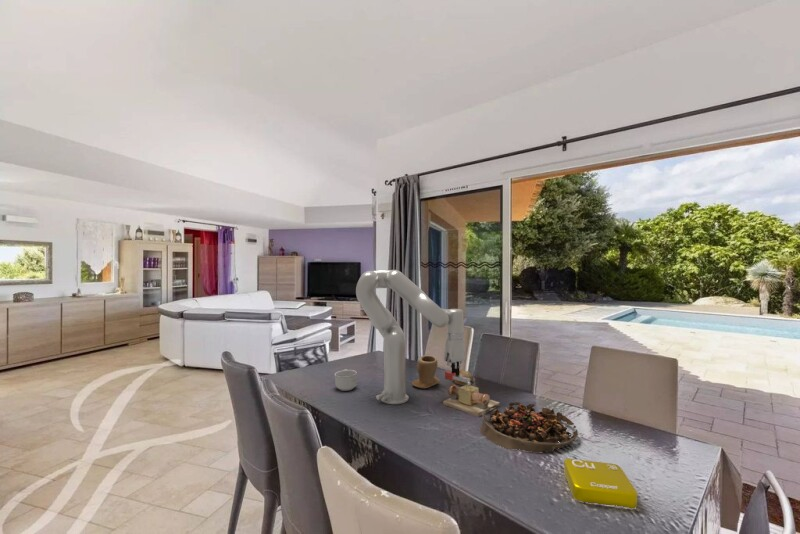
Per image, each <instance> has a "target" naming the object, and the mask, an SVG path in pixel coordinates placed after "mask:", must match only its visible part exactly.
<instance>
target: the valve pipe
mask: <svg viewBox="0 0 800 534" xmlns="http://www.w3.org/2000/svg"><path fill="white" fill-rule="evenodd" d="M448 394H449V395H450V398H451V399H453V400H458V399H459V402H461V403H464V404H467V405H470V406H471V405H473V404H475V403H478V408H481V409H486V408H488V404H489V402H490V400H491V397H490V395H489V394H488V393H480V392H479V387H477V386H473V385H472V384H471V385H470V386H467V385H461V386H458V385H457V384H454V383H452V384H450V386H449V387H448Z"/></svg>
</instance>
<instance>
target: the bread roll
mask: <svg viewBox="0 0 800 534" xmlns="http://www.w3.org/2000/svg"><path fill="white" fill-rule="evenodd" d="M459 376H462V377H466V378H470V385H471V386H472V384H473V383H474V377H473V375H472V373H471V372H470V371H469V370H463V369H461V370H459ZM452 382H453V384H454V383H455V384H454V385H457V386H458V385H459V386H465V385H467V383H465V382H462V381H458V380H453V381H452Z"/></svg>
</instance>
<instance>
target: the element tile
mask: <svg viewBox="0 0 800 534" xmlns="http://www.w3.org/2000/svg"><path fill="white" fill-rule="evenodd" d="M563 463H564V464H563V469H564V470H563V474H564V473H565V475H564V477H565V476H566V478H565V480H566V479H567V481H568V483H567V485H568V484H569V486H568V488H569V487H570V489H569V490H571V491H570V493H571V492H572V494H571V496H572V495H573V497H574V498H575V499H577V500H579V501H583V502H588V503H598V504H606V505H615V506H616V505H617V506H623V507H629V508H635V507H637V508H638V491H637V490H636V488H635V487H634V485H633V484H632V482H631V480H629V477H627V475H626V473H625V472H624V470H623V469H622V467H621V466H619V465H618V464H617V463H612V462H611V463H610V462H601V461H600V462H599V461H592V460H583V459H573V458H566V459H564V462H563ZM567 481H566V482H567ZM573 497H572V498H573Z"/></svg>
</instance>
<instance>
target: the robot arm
mask: <svg viewBox="0 0 800 534" xmlns="http://www.w3.org/2000/svg"><path fill="white" fill-rule="evenodd" d="M376 289H391V290H392V291H393V292H394V293H396V294H397V295H398V296H399V297H400V298H402V299H403V300H404V301H405V302H406V303H407V304H409V305H410V307H412V308H413V309H415V310H416V311H417V312H418V313H419V314H420V315H422V316H423V317H424V318H425V319H427V320H428V321H429V322H430V323H431V324H432V325H433V326H434V327H436V328H441V329H442V328H445V327H446V339H445V344H444V352H443V353H444V354H443V355H444V357H443V359H444V362H446V366H449V367H450V368H451V372H455V373H456V375H459V371H460V368H461V364H462V363H464V361H465V359H466V343H465V339H464V331H465V330H464V328H465V327H464V326H465V325H464V310H463V309H461V308H450V309H449V308H441V307H440V306H439V305H438V304H437V303H436V302H435V301H433V300H432V299H431V298H430V297H429V296H428V295H427V294H426V293H425V292H424V291H423V289H421V288H420V287H419V286H418V285H417V284H415V283H414V282H413V281H412V280H411V279H409V277H407V276H406V275H405V274H404V273H403V272H401V271H400V270H397V269H388V270H367V271H364V272H363V273H362V274H361V275H360V277H359V279H358V281H357V283H356V287H355V295H356V299H357V301H358V303H359V305H360V306H361V308H362V309H363V311H364V313H365V314H366V316H367V317H368V319H369V321H370V322H371V324H372V326H373V327H374V328H375V329H376V330H377V331H378V332H379V333H380V335H381V337H382V338H383V345H384V346H383V347H384V348H383V358H384V359H383V373H384V374H383V375H384V377H383V378H384V379H383V384H384V385H383V390H382V392H381V393H380V394H377V395H375V399H376V400H377V401H378V400H380V401H381V402H382V403H384V404H388V405H402V404H406V403H407V402H408V401H409V400H410V399H409V398H410V397H409V395H407V393H406V348H407V342H406V341H407V339H406V336H405V333H404V330H403V328H401V326H400V324H399V323H398V322H397V320H396V319H395V317H394V316H393V314H392V312H391V311H390V310H389V309H388V308H386V307H385V305H384V304H383V302H382V301H381V299H380V298H379V296H378V295H377V293H376Z"/></svg>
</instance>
